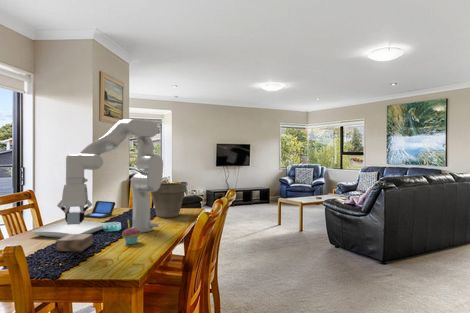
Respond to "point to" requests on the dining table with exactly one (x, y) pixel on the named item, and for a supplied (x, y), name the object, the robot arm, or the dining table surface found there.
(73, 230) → the square plate
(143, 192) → the robot arm
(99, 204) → the handheld game console
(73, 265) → the dining table surface
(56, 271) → the dining table surface
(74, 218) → the slate block
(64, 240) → the walnut base
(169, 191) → the plant pot
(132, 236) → the cupcake
